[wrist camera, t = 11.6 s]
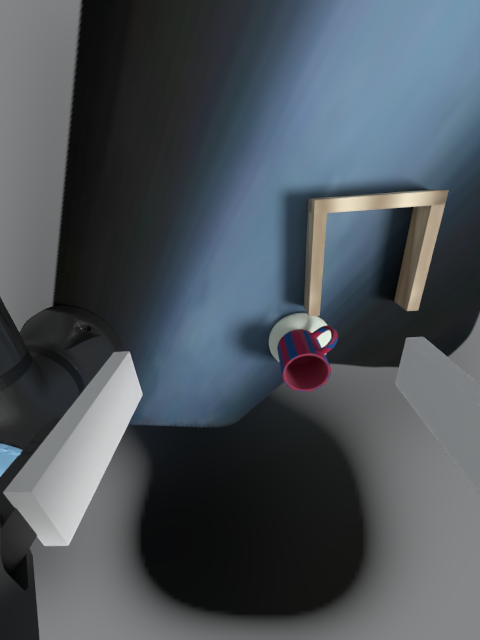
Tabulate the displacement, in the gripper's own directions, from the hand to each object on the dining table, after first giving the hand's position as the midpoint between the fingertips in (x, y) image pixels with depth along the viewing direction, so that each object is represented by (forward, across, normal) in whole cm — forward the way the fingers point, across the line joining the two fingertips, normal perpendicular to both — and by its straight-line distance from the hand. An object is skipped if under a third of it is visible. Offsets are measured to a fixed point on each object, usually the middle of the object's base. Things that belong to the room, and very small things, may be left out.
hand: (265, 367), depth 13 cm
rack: (+27, +15, -1) cm, 31 cm away
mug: (+26, +8, -15) cm, 31 cm away
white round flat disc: (+27, +7, -15) cm, 31 cm away
